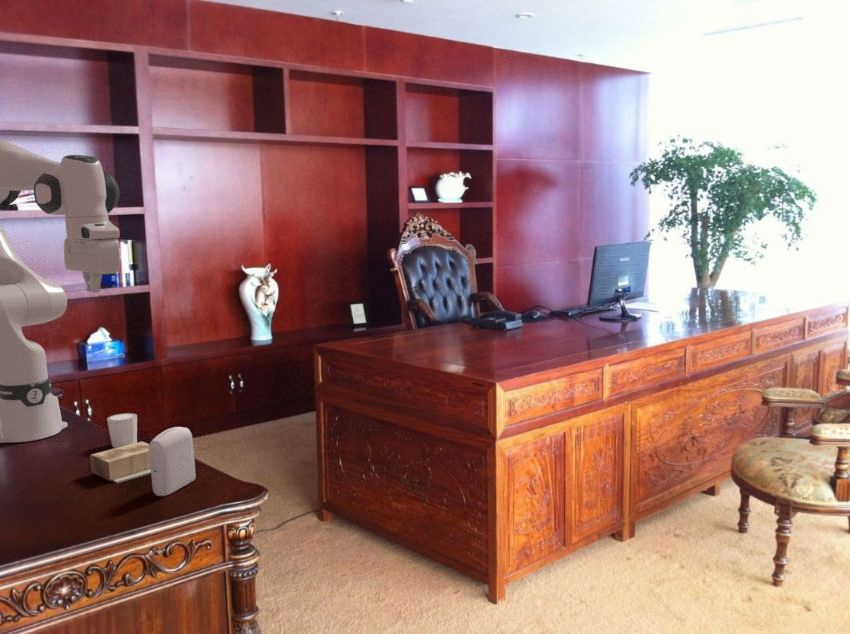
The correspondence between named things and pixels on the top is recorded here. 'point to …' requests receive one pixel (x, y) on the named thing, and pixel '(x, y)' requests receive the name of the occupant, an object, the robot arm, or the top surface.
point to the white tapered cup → (123, 429)
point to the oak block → (121, 461)
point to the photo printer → (172, 460)
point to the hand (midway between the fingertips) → (93, 292)
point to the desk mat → (132, 476)
